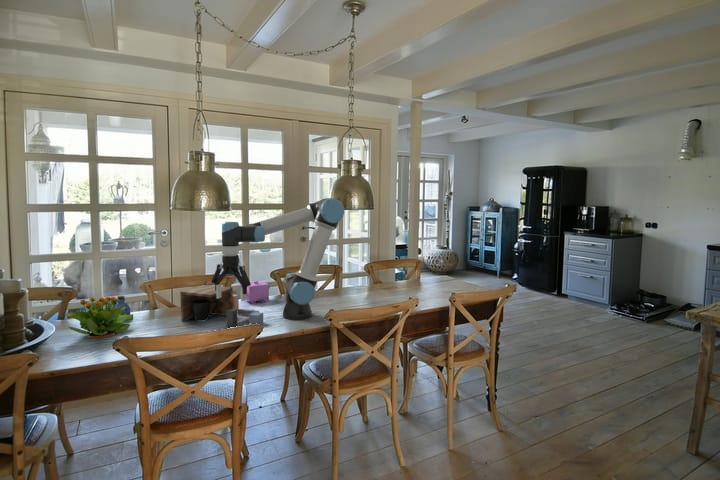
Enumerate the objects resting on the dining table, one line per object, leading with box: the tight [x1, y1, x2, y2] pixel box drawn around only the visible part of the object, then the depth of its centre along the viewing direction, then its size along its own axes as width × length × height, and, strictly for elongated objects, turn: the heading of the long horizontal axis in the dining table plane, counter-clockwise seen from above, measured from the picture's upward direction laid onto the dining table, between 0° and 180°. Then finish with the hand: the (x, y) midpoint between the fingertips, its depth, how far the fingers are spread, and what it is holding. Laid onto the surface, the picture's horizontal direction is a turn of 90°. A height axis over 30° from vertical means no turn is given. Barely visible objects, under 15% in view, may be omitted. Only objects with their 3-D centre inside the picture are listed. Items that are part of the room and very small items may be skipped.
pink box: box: [237, 280, 271, 305], centre depth 248 cm, size 20×10×12 cm, turn 124°
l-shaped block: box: [233, 294, 240, 311], centre depth 229 cm, size 16×4×9 cm, turn 71°
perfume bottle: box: [114, 295, 131, 315], centre depth 210 cm, size 6×6×12 cm
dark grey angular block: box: [226, 308, 260, 329], centre depth 209 cm, size 13×24×9 cm, turn 161°
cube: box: [248, 311, 264, 325], centre depth 207 cm, size 5×5×5 cm
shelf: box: [179, 284, 234, 322], centre depth 214 cm, size 18×18×15 cm
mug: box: [192, 299, 218, 322], centre depth 213 cm, size 8×12×10 cm
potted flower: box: [64, 296, 134, 340], centre depth 185 cm, size 25×24×18 cm
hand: (231, 299), depth 197 cm, fingers open, 13 cm apart
